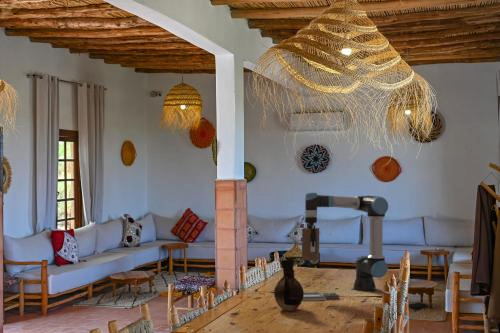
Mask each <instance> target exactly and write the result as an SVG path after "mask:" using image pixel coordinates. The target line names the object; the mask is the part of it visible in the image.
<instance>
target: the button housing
mask: <svg viewBox="0 0 500 333" xmlns="http://www.w3.org/2000/svg"><path fill="white" fill-rule="evenodd" d="M328 293H329V292H325V293H324V292H323V293H322V295H324V296H325V298H326V300H339V298H340V295H339V294H338V293H336V292H333V293H334V295H328Z"/></svg>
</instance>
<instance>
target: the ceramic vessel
mask: <svg viewBox="0 0 500 333" xmlns="http://www.w3.org/2000/svg"><path fill="white" fill-rule="evenodd" d="M279 261H280V265H281V267H282V270H283V276H282V277H281V278H280V279H279V280H278V282H277V283H276V285H275V287H274V290H273V295H274V299H275V302H276V304H277V305H278V307H279V308H280V309H281V310H283V311H287V312H288V311H289V312H294V311H296V310H297V309H298V308H299V306H300V305H301V304H302V302H303V301H302V300H303V296H304V287H303V286H302V284H301V282H299V280H298V279H297V278H296V277H295V270H294V264H295V263H294V262H295V259H294V258H293V259H286V260H285V259H284V260H279Z"/></svg>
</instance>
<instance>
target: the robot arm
mask: <svg viewBox="0 0 500 333" xmlns="http://www.w3.org/2000/svg"><path fill="white" fill-rule="evenodd" d="M304 200H305V209H304V210H305V211H304V216H305V217H304V218H305V219H304V222H305V223H306V228H308V229H311V240H310V241H311V250H310V252H315V241H316V235H315V228H316V225H315V224H317V222H318V208H339V209H340V208H341V209H342V208H343V209H353V211H361V212H364V213H367V218H368V219H369V254H368V255H361V256H360V255H358V256H356V258H355V260H356V261H355V275H356V276H355V280H354V283H353V286H352V287H353V290H356V291H360V290H362V292H370V291H369V290H373V291H375V289H377V288H376V287H377V286H376V282H375V280H374V279H375V278H379V279H380V278H383V277H384V276H385V275H387V273H388V271H389V266H388V264H387V262H386V260H385V259H386V258H385V256H384V255H383V250H384V248H383V243H384V242H383V238H384V237H383V235H384V232H383V227H384V226H383V222H384V220H383V219H384V218H385V217H386V213H387V212H388V210H389V203H388V201H387V199H385V198H384V197H383V196H379V195H360V196H359V195H355V196H353V197H352V196H341V195H339V196H338V195H327V194H326V195H321V194H318V193H317V192H306V193H305V198H304Z"/></svg>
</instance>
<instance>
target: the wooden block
mask: <svg viewBox="0 0 500 333" xmlns="http://www.w3.org/2000/svg"><path fill="white" fill-rule="evenodd" d="M315 235H316V241H315V252H310V250H311V241H310V240H311V229H308V228H307V227H303V228H302V229H301V260H302V261H312V262H313V261H316V262H317V261H318V260H319V259H320V228H319V227H315Z"/></svg>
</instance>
